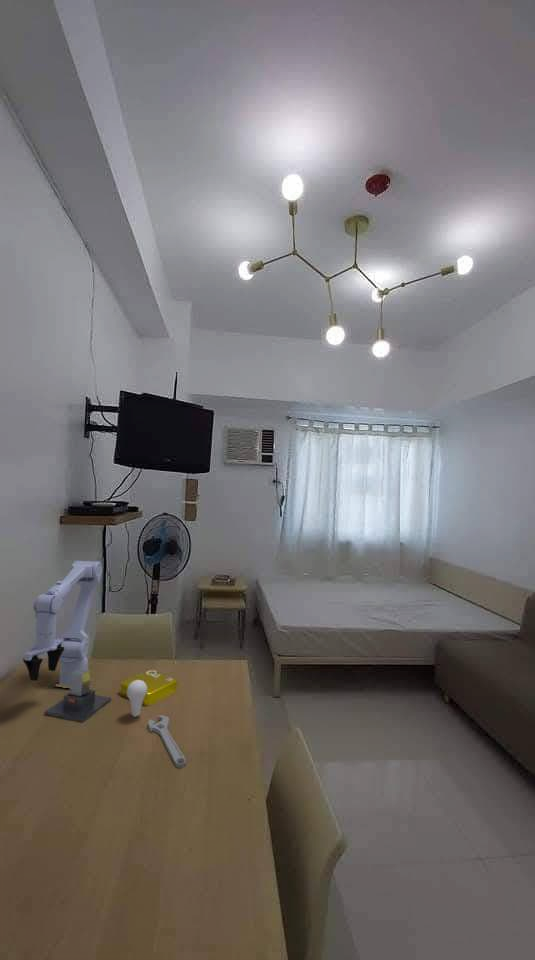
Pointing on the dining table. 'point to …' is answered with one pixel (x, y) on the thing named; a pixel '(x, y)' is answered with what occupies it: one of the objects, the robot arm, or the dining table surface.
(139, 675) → the element tile
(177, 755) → the adjustable wrench
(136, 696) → the lightbulb
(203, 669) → the dining table surface
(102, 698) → the stand base
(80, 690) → the stand column
